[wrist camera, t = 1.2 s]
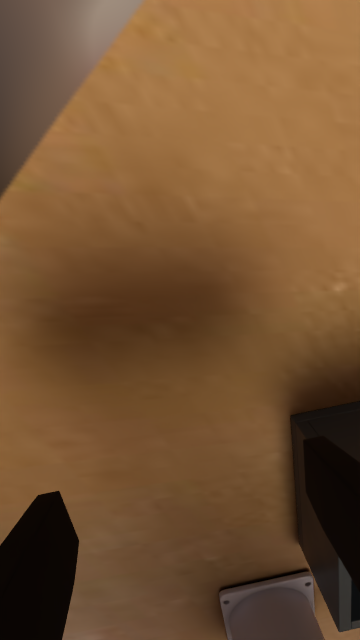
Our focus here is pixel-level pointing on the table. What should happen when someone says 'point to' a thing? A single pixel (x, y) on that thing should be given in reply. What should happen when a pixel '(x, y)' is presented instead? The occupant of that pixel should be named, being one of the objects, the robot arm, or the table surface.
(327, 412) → the cooker
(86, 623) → the table surface
